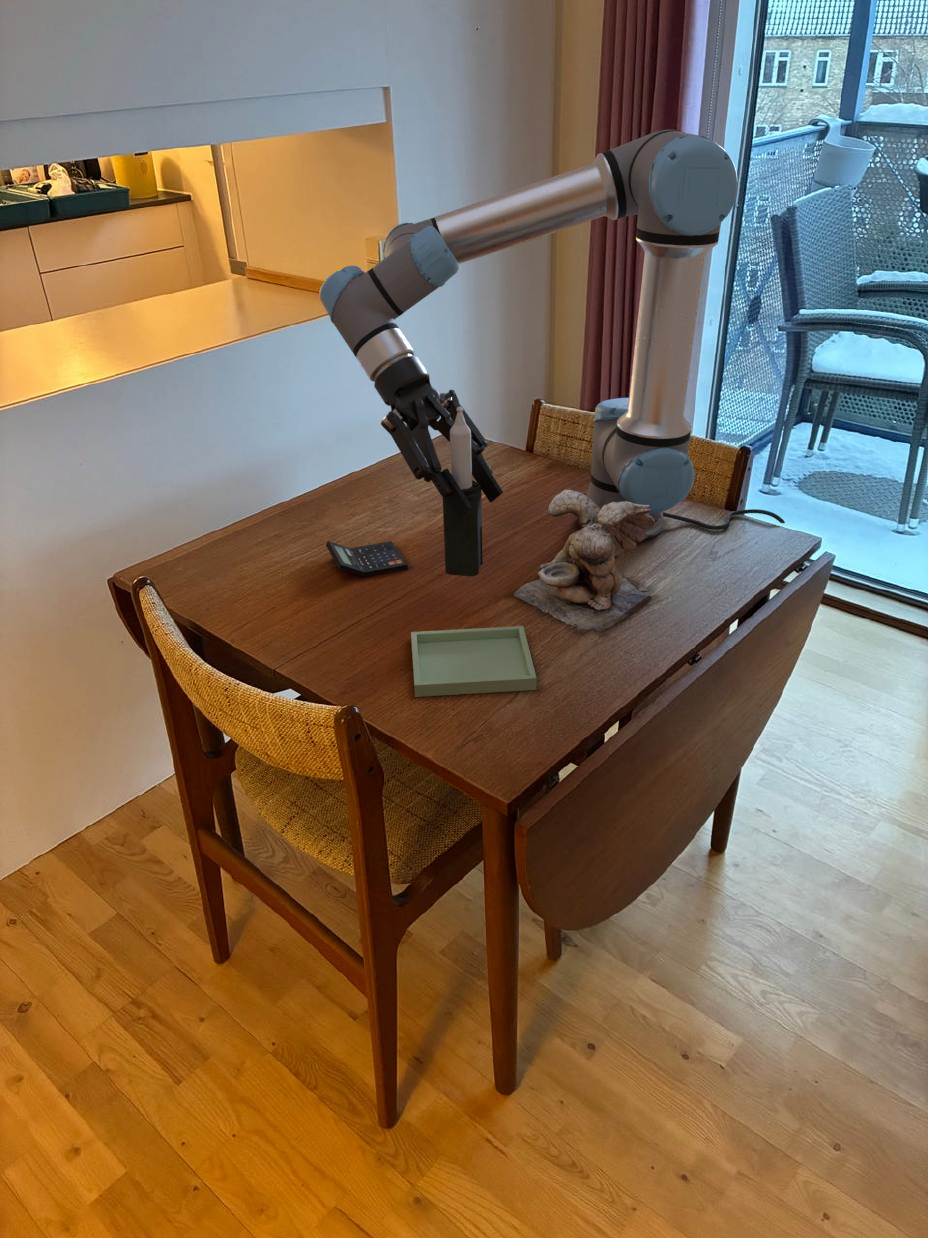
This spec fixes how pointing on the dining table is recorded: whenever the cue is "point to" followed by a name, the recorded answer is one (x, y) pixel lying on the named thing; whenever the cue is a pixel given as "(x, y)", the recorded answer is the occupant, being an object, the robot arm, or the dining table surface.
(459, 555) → the candle
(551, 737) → the dining table surface
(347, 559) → the calculator
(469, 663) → the tray
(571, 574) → the cherub figurine
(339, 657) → the dining table surface
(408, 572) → the dining table surface
